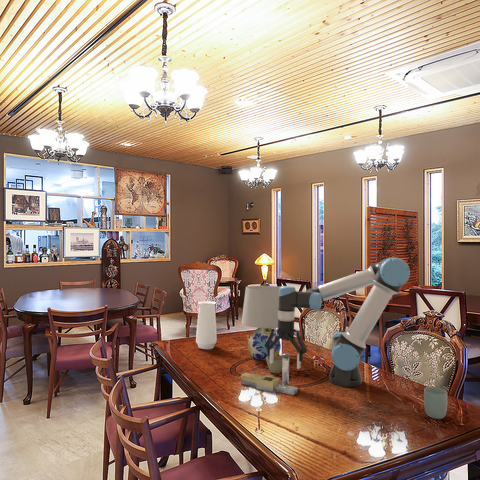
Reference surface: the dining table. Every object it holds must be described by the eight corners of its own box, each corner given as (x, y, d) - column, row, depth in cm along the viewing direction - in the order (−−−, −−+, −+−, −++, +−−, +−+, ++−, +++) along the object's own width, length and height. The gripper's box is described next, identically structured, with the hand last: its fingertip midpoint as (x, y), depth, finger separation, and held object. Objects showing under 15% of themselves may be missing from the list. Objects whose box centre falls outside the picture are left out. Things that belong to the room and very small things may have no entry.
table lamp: (286, 365, 206) (287, 290, 207) (237, 361, 211) (238, 289, 212) (288, 351, 233) (289, 286, 234) (244, 349, 238) (245, 284, 238)
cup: (426, 410, 150) (427, 385, 151) (449, 416, 146) (449, 390, 146) (421, 417, 144) (421, 390, 145) (444, 423, 140) (444, 396, 140)
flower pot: (284, 376, 189) (285, 361, 189) (264, 374, 191) (265, 360, 191) (286, 369, 198) (286, 356, 199) (267, 368, 200) (267, 354, 201)
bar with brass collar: (298, 390, 170) (298, 381, 170) (292, 396, 163) (292, 387, 163) (247, 379, 182) (247, 371, 182) (238, 385, 175) (239, 376, 175)
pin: (291, 384, 178) (291, 353, 178) (287, 386, 174) (288, 355, 174) (283, 382, 180) (283, 352, 180) (279, 385, 176) (280, 354, 176)
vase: (194, 345, 245) (194, 301, 245) (213, 344, 249) (214, 300, 249) (198, 350, 232) (198, 304, 233) (218, 349, 236) (219, 303, 237)
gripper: (314, 321, 175) (313, 368, 174) (265, 315, 187) (264, 358, 187) (309, 324, 168) (308, 372, 168) (258, 317, 180) (257, 362, 180)
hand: (284, 365), depth 177 cm, fingers open, 13 cm apart
